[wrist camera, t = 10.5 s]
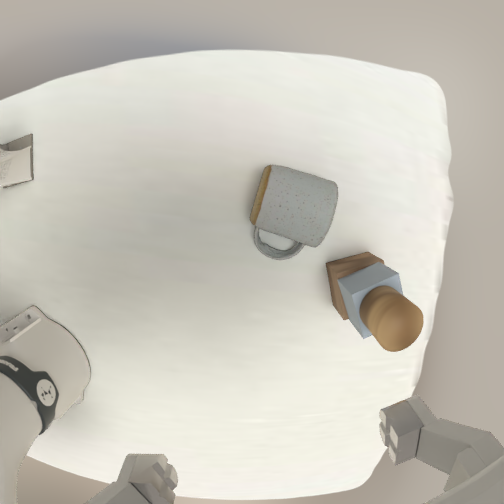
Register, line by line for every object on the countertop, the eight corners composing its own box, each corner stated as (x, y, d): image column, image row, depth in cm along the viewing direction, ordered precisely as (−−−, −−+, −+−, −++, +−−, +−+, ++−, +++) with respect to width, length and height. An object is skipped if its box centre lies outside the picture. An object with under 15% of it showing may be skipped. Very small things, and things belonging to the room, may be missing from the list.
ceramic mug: (262, 163, 35) (267, 158, 28) (327, 182, 36) (347, 183, 28) (240, 247, 37) (238, 263, 30) (302, 263, 38) (316, 283, 30)
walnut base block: (332, 304, 39) (344, 320, 34) (325, 262, 38) (336, 273, 33) (373, 293, 39) (388, 306, 34) (367, 251, 38) (383, 260, 33)
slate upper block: (349, 319, 34) (363, 338, 29) (337, 279, 33) (351, 294, 28) (388, 301, 34) (407, 317, 29) (378, 261, 33) (398, 273, 28)
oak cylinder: (362, 334, 29) (379, 358, 24) (356, 293, 28) (375, 314, 23) (401, 319, 29) (423, 341, 24) (398, 279, 28) (422, 296, 23)
